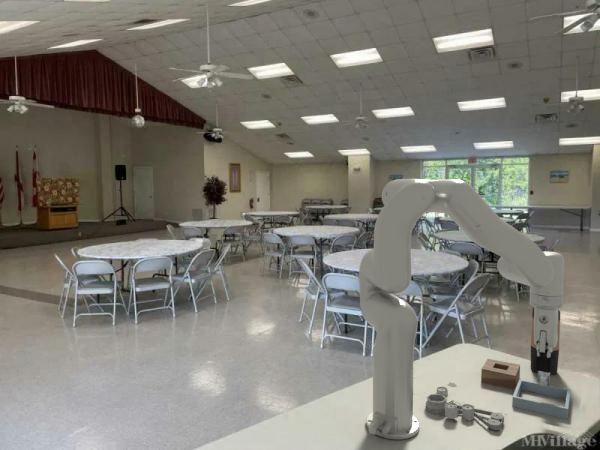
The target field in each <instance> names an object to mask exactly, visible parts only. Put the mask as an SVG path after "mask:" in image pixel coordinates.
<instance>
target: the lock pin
mask: <svg viewBox="0 0 600 450" xmlns="http://www.w3.org/2000/svg"><path fill="white" fill-rule="evenodd" d="M537 348H538V346H537ZM546 349H547V348H546ZM551 353H552V347H550V355H551ZM550 379H551V376H550V372H549V373H547V372H542V371H538V374H537V379H536V380H537V382H536V383H538V384H539V385H542V386H549V385H550V382H551V381H550Z"/></svg>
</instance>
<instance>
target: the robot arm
mask: <svg viewBox="0 0 600 450" xmlns="http://www.w3.org/2000/svg"><path fill="white" fill-rule="evenodd" d="M381 202H382V204H383V206H382V209H381V210H380V211H379V213H378V215H377V218H376V221H375V224H374V231H373V249H370V250H368V251H367V252H366V253H365V254H364V255H363V257H362V259H361V261H360V264H359V270H358V271H359V272H358V274H359V277H358V278H359V279H358V283H359V284H358V285H359V305H360V312H361V315H362V318H363V319H364V320H365V321H366V323H368V324H369V325H370V326H371V327H372V328H373V329H374V330H375V331H376V336H375V339H374V340H375V341H374V344H373V350H372V411H371V413H369V414H368V415H367V416H366V420H365V421H366V427H367V429H368V433H369V434H370V435H377V436H378V437H380V438H384V439H389V440H406V439H410V438H412V437H414V436H416V435H417V434H418V433H419V431H420V422H419V420H418V418H416V417H415V415H413V413H414V357H415V356H414V355H415V353H414V352H415V341H416V337H417V332H418V325H419V323H418V316H417V313H416V311H415V310H414V308H413V307H412V306H411V305H410V304H409V303H408V302H407V301H406V300H403V299H401V298H400V297H398V296H396V294H402V293H403V292H404V291H406V290H407V289H408V288H409V287H410V284H411V281H412V246H411V243H412V232H413V229H414V226H415V225H416V224H417V221H419V219H420V218H422V216H424V215H425V214H426V213H428V214H429V213H438V214H445V215H447V216H448V218H450V219H451V220H452V221H453V222H454V223H455V224H456V225H457V226H458V228H460V230H462V232H463V233H464V234H465V235H466V236H467V237H468V238H469V239H470V240H471V242H473V243H475V244H476V245H477V246H479V247H481V249H482V248H483V249H485V250H486V251H489V252H492V253H493V254H495V255H496V256H497V255H498V256H499V259H498V260H497V263H496V264H497V265H496V266H497V271H498V273H499V274H500V275H501V277H503V278H505V279H506V280H507V281H508V280H509V281H512V282H514V283H515V282H516V283H519V284H521V285H525V286H528V287H529V305H530V306H531V307H533V308H534V344H535V345H537V344H538V345H537V346H538V348H537V356H536V370H537V371H542V372H547V373H549V372H550V368H551V364H552V353H551V355H550V347H553V348H555V347H556V345H557V341H558V310H561V309H563V307H564V306H563V305H564V304H563V303H564V301H563V300H564V278H565V277H564V276H565V275H564V274H565V258H564V255H563V254H561V253H559V252H555V251H543V250H542V249H541V248H540V247H539V246H538V245H537V244H536V243H535V242H534V241H533V240H532V239H530V238H529V237H528V236H526V235H525V234H524V233H522V232H521V231H519V230H517V229H516V228H515V227H513V225H511V224H510V223H507V222H506V221H505V220H503V219H502V218H501V216H499V215H498V214H497V213H496V212H495V211H494V210H493V209H492V208H491V206H489V204H488V203H487V202H486V201H485V200H484V198H483V197H482V196H481V195H480V194H479V192H477V190H475V188H474V187H473V186H472V185H470V184H469V182H467V181H464V180H461V179H420V178H398V179H394V180H390V181H389V182H388V183H387V184H385V185H384V188H383V189H382V192H381ZM546 348H547V349H546Z"/></svg>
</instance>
